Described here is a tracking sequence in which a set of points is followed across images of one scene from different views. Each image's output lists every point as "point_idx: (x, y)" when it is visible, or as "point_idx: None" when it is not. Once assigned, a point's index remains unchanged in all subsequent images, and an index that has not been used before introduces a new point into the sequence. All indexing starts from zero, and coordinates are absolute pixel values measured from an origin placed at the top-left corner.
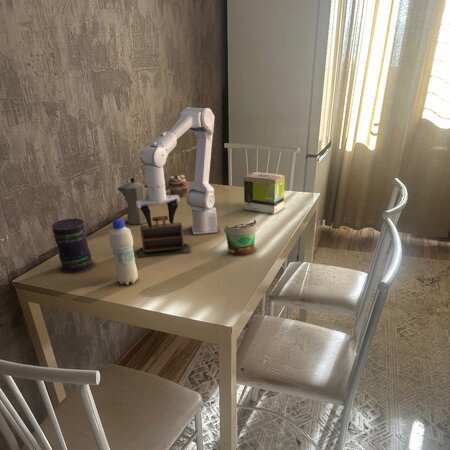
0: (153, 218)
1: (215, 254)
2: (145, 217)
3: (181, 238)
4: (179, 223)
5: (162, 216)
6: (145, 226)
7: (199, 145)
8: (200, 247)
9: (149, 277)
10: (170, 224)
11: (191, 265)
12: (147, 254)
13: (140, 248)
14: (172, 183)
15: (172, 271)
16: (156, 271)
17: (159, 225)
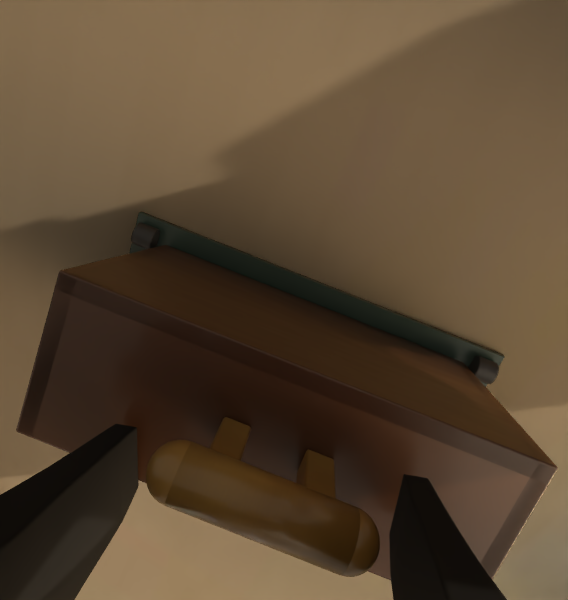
0: (155, 498)
1: (557, 577)
2: (15, 497)
3: None
4: (510, 514)
5: (297, 547)
6: (101, 348)
7: None
8: (558, 444)
9: (108, 564)
10: (394, 483)
11: (347, 592)
12: None
13: (136, 242)
14: None
15: (229, 582)
16: (156, 538)
17: (262, 430)
